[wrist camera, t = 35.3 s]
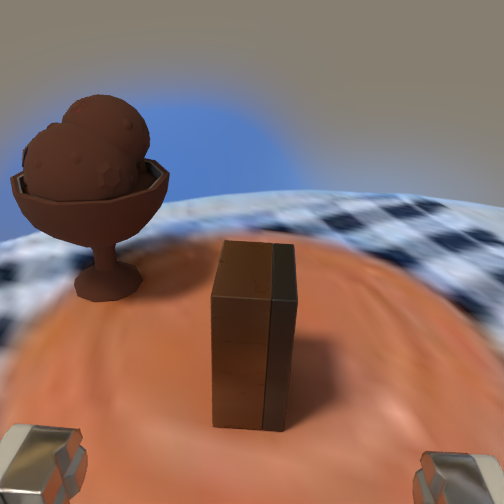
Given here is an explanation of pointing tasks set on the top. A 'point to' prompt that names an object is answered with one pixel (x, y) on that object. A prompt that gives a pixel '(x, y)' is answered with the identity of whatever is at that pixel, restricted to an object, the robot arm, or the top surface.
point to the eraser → (252, 334)
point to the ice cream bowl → (93, 188)
